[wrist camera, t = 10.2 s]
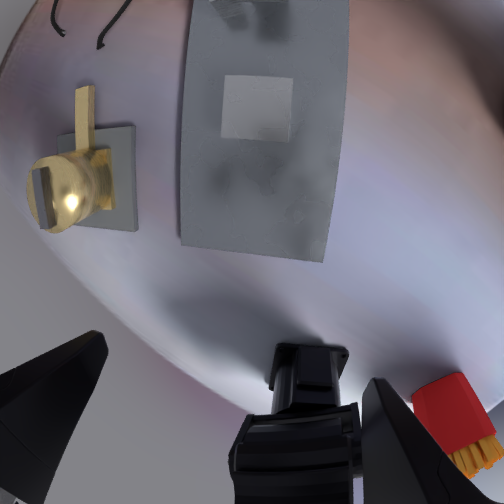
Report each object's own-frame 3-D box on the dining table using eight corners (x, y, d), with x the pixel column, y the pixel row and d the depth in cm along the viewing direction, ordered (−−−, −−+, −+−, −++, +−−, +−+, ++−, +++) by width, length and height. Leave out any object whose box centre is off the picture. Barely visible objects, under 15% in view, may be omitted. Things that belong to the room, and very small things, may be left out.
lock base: (321, 257, 20) (328, 295, 15) (185, 240, 21) (157, 271, 16) (346, -3, 12) (360, -37, 7) (199, -8, 13) (173, -38, 8)
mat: (138, 229, 21) (134, 232, 20) (68, 221, 22) (64, 224, 21) (135, 125, 17) (131, 126, 17) (61, 134, 18) (57, 135, 18)
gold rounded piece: (119, 211, 20) (71, 239, 14) (73, 210, 20) (26, 236, 15) (114, 80, 15) (59, 74, 10) (66, 94, 16) (13, 96, 11)
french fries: (406, 410, 26) (422, 501, 14) (403, 393, 25) (423, 494, 13) (470, 381, 23) (502, 464, 11) (473, 361, 22) (512, 451, 10)
